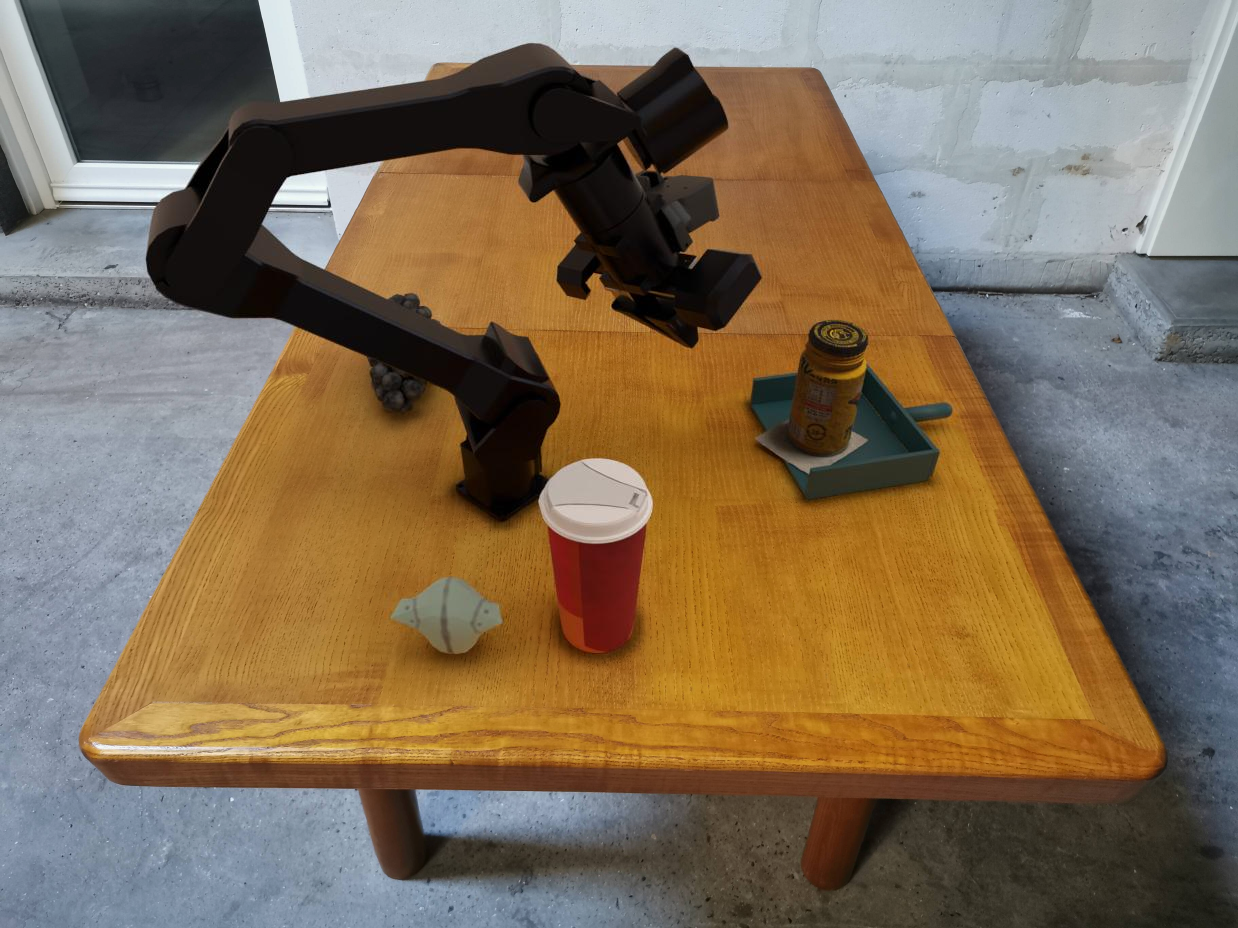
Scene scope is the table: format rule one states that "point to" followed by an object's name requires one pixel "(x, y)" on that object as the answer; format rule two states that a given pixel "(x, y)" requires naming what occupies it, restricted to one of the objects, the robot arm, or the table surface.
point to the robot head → (449, 615)
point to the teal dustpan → (874, 459)
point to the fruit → (395, 383)
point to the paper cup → (596, 549)
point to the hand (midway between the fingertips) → (692, 344)
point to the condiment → (823, 398)
